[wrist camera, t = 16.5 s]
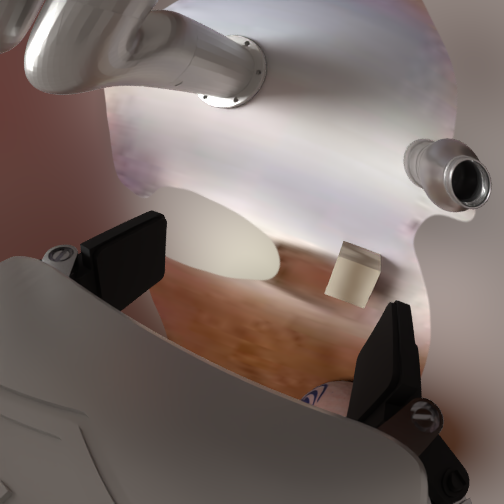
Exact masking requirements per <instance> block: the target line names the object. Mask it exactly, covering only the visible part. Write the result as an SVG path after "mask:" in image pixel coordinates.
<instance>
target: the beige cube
mask: <svg viewBox="0 0 504 504" xmlns="http://www.w3.org/2000/svg"><path fill="white" fill-rule="evenodd" d="M380 272H381V255H380V254H377V253H375V252H372V251H369V250H367V249H364V248H361V247H359V246H356V245H353V244H351V243H348V242H345V241H343V244H342V247H341V250H340V253H339V256H338V259H337V261H336V264H335V267H334V270H333V272H332V275H331V278H330V280H329V283H328V286H327V288H326V291H325V294H327V295H329V296H332V297H335V298H337V299H340V300H343V301H345V302H348V303H351V304H353V305H356V306H359V307H361V308H364V307H365V305H366V303H367V301H368V300H369V298H370V296H371V294H372V292H373V289H374V287H375V285H376V283H377V281H378V278H379V276H380Z"/></svg>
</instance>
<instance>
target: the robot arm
mask: <svg viewBox="0 0 504 504" xmlns="http://www.w3.org/2000/svg"><path fill="white" fill-rule="evenodd" d="M43 2H44V0H0V54H1V53H3V52H6V51H9V50H11V49H12V48H13V47H15V46H16V45H17V44H18V43H19V42H20V41H21V40H22V39H23V38H24V36H25V34H26V33H27V31H28V30H29V28H30V26H31V25H32V23H33V21H34V19H35V17H36V15H37V13H38V11H39V10H40V8H41V6H42V4H43ZM157 2H158V0H46V2H45V4H44V6H43V8H42V10H41V12H40V14H39V16H38V18H37V20H36V22H35V25H34V27H33V29H32V32H31V34H30V37H29V40H28V43H27V47H26V51H25V56H24V69H25V73H26V76H27V78H28V80H29V82H30V83H31V84H32V85H33V86H34V87H35V88H37V89H38V90H41V91H43V92H46V93H50V94H59V95H63V94H76V93H82V92H87V91H92V90H96V89H101V88H106V87H112V86H143V87H153V88H162V89H169V90H177V91H183V92H189V93H195V94H197V95H198V96H199V97H200V98H201V100H203V101H204V102H205V103H207V104H209V105H211V106H214V107H218V108H233V107H236V106H239V105H241V104H244V103H246V102H247V101H248V100H250V99H251V98H252V97H253V96H254V95H255V94H256V93H257V92H258V90H259V89H260V88H261V86H262V84H263V82H264V79H265V75H266V59H265V56H264V54H263V52H262V50H261V49H260V47H259V46H258V45H257V44H256V43H254V42H253V41H252V40H250V39H248V38H246V37H243V36H238V35H228V36H224V35H222V34H220V33H218V32H217V31H215V30H213V29H211V28H209V27H207V26H205V25H203V24H201V23H199V22H197V21H195V20H193V19H191V18H188V17H186V16H184V15H182V14H180V13H177V12H173V11H168V10H152V8H153V7H154V6H155V4H156V3H157ZM151 10H152V11H151ZM260 72H261V74H260V75H259V73H260ZM207 97H208V98H207ZM238 99H239V101H238V102H237V100H238ZM166 228H167V221H166V219H165V217H164V215H163V214H161V213H158V212H155V211H149V212H146V213H144V214H142V215H140V216H138V217H135V218H133V219H131V220H129V221H127V222H124V223H122V224H120V225H118V226H116V227H114V228H112V229H110V230H108V231H105V232H104V233H101V234H99V235H97V236H95V237H93V238H92V239H89V240H87V241H85V242H83V243H82V244H80V246H81V253H80V254H78V251H77V249H76V248H75V247H74V246H71V245H59V246H55V247H53V248H51V249H50V250H48V251H47V253H46V254H45V256H44V257H43V259H42V260H37V259H34V258H30V257H22V256H15V257H11V258H9V259H7V260H5V261H3V262H1V263H0V504H472V502H471V500H470V498H468V499H466V498H465V495H466V493H467V491H468V488H469V476H468V473H467V471H466V470H465V468H464V467H463V465H462V464H461V463H460V461H459V460H458V459H457V457H456V456H455V455H454V454H453V452H452V451H451V450H450V448H449V447H448V446H447V445H446V443H445V442H444V441H443V440H442V438H441V437H440V436H439V433H440V431H441V429H442V428H443V415H442V413H441V410H440V409H439V408H438V406H437V405H436V404H435V403H434V402H432V401H431V400H429V399H426V398H422V396H421V377H420V363H419V353H418V347H417V345H416V344H415V338H414V330H413V322H412V315H411V308H410V305H408V304H405V303H403V302H400V301H397V300H396V301H395V302H394V303H391V302H390V303H389V304H388V305H387V307H386V309H385V311H384V313H383V314H382V316H381V318H380V320H379V321H378V323H377V325H376V327H375V328H374V330H373V332H372V333H371V335H370V337H369V338H368V340H367V342H366V343H365V345H364V346H363V348H362V350H361V351H360V353H359V355H358V358H357V361H356V368H355V374H354V380H353V386H352V391H351V397H350V402H349V407H348V411H347V416H346V417H344V416H342V415H339V414H336V413H333V412H330V411H327V410H325V409H322V408H319V407H316V406H314V405H311V404H308V403H305V402H303V401H300V400H298V399H295V398H293V397H290V396H288V395H285V394H282V393H280V392H277V391H275V390H272V389H270V388H268V387H265V386H263V385H260V384H258V383H256V382H253V381H251V380H249V379H247V378H244V377H242V376H240V375H238V374H236V373H233V372H231V371H229V370H227V369H225V368H223V367H221V366H219V365H217V364H215V363H212V362H210V361H208V360H206V359H204V358H202V357H200V356H198V355H196V354H194V353H193V352H191V351H189V350H187V349H185V348H183V347H181V346H179V345H177V344H176V343H174V342H172V341H170V340H168V339H166V338H164V337H163V336H161V335H159V334H157V333H156V332H154V331H152V330H151V329H149V328H147V327H145V326H144V325H142V324H140V323H139V322H137V321H135V320H134V319H132V318H130V317H129V316H127V315H125V314H124V313H122V312H121V310H123V309H124V308H125V307H126V306H128V305H129V304H130V303H132V302H133V301H134V300H135V299H137V298H138V297H139V296H141V295H142V294H143V293H144V292H146V291H147V290H148V289H150V288H151V287H152V286H154V285H155V284H156V283H157V282H159V281H160V280H161V279H162V278H163V276H164V273H165V246H166Z"/></svg>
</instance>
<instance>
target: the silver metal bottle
mask: <svg viewBox="0 0 504 504" xmlns="http://www.w3.org/2000/svg"><path fill="white" fill-rule="evenodd" d="M404 168H405V171H406V173H407V176H408V177H409V179H410V180H411V181H412V182H413V183H414V184H415V185H416V186H418V187H420V188H422V189H424V191H425V192H426V194H427V196H428V197H429V198H430V200H431V201H432V202H433V203H434V204H435V205H437V206H438V207H439V208H441V209H443V210H446V211H449V212H461V211H465V210H468V209H477V208H479V207H482V206H483V205H484V204H485V203H486V202H487V200H488V199H489V197H490V194H491V187H492V186H491V178H490V175H489V172H488V171H487V169H486V167H485V166H484V165H483V164H482V163H481V162H480V161H479V159H478V158H477V156H476V155H475V153H474V152H473V151H472V150H471V149H470V148H469V147H468V146H467V145H466V144H464V143H462V142H460V141H458V140H455V139H448V138H447V139H441V140H438V141H433V140H430V139H418V140H416V141H414V142H412V143H411V144H410V145H409V146H408V147H407V149H406V151H405V154H404Z"/></svg>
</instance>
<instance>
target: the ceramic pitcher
mask: <svg viewBox="0 0 504 504" xmlns="http://www.w3.org/2000/svg"><path fill="white" fill-rule="evenodd" d="M352 386H353V383H352V382H347V381H335V382H328V383H325V384H322V385H320V386H317V387H316V388H314V389H313V390H312V391H310V392H308V393H307V394H306V395H305V396H304V397H303V398H302V399H301V400H300V401H303V402H305V403H308V404H311V405H314V406H316V407H319V408H322V409H325V410H327V411H330V412H333V413H336V414H339V415H342V416H344V417H346V416H347V411H348V407H349V402H350V397H351V391H352Z"/></svg>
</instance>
